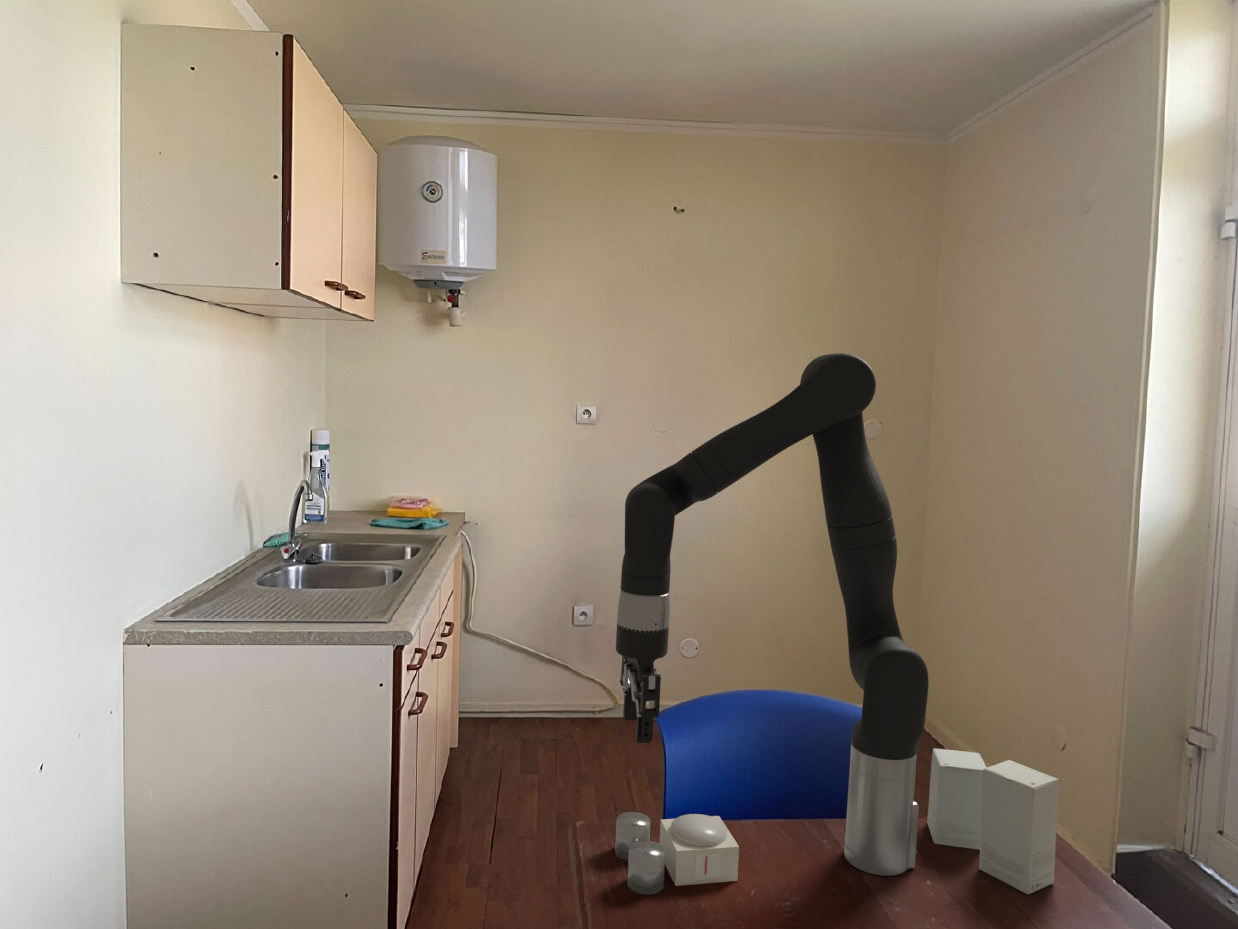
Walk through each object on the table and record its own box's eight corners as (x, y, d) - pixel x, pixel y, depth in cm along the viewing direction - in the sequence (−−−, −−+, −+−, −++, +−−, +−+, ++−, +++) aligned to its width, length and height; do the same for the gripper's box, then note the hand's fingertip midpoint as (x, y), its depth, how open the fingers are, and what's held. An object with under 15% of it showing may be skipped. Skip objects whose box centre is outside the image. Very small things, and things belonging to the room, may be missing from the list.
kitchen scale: (717, 848, 134) (719, 810, 133) (738, 882, 125) (740, 842, 124) (659, 852, 132) (660, 814, 131) (676, 887, 123) (677, 847, 122)
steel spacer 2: (658, 873, 126) (660, 839, 126) (667, 893, 121) (669, 858, 121) (623, 876, 125) (625, 842, 125) (631, 896, 120) (633, 861, 120)
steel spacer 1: (644, 843, 134) (646, 811, 134) (652, 860, 130) (654, 827, 129) (612, 845, 133) (613, 813, 133) (618, 862, 128) (620, 829, 128)
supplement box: (983, 851, 136) (990, 771, 135) (932, 844, 137) (938, 765, 136) (974, 828, 143) (980, 752, 142) (926, 822, 144) (931, 746, 143)
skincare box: (1054, 885, 127) (1063, 779, 126) (1026, 897, 124) (1035, 789, 122) (1002, 857, 134) (1010, 757, 133) (974, 868, 131) (982, 766, 129)
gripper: (681, 635, 122) (674, 749, 124) (656, 608, 136) (650, 712, 137) (628, 635, 121) (622, 751, 122) (608, 608, 134) (602, 713, 136)
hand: (636, 730), depth 130 cm, fingers open, 8 cm apart
